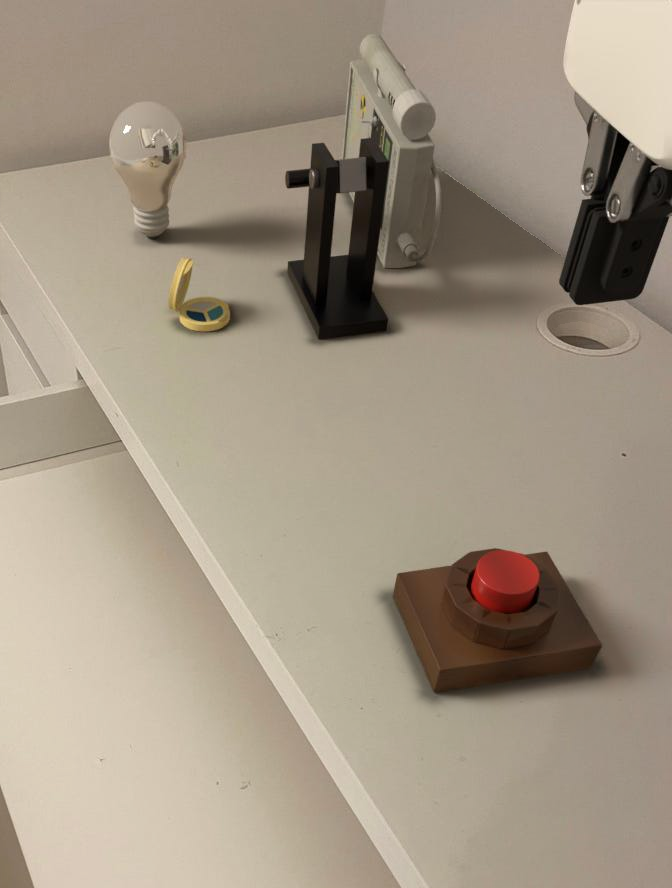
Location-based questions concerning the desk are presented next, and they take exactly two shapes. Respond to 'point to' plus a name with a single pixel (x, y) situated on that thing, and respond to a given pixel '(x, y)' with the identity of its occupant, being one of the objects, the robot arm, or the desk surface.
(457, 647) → the button block
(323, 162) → the bracket
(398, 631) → the desk surface
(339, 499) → the desk surface
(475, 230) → the desk surface
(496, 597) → the button
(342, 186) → the lever
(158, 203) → the light bulb
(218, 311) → the eyeshadow
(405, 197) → the geiger counter
